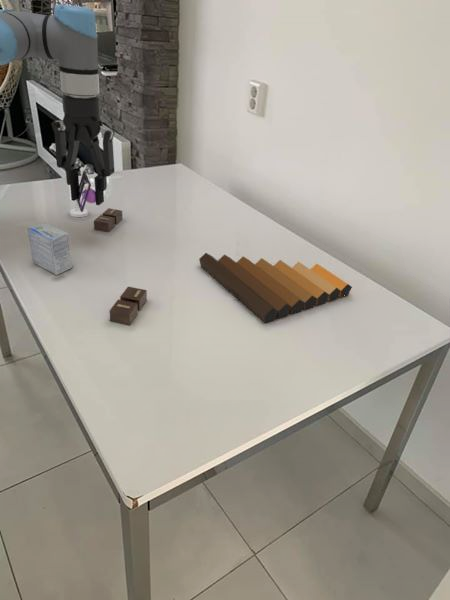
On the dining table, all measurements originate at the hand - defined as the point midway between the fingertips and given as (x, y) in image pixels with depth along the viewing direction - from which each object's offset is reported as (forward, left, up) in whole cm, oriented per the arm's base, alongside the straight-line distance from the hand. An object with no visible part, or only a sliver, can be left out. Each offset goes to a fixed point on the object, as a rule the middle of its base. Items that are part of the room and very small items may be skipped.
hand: (87, 200), depth 106 cm
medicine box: (-2, -15, -11) cm, 18 cm away
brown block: (0, +10, -10) cm, 15 cm away
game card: (0, 0, -1) cm, 1 cm away
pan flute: (+46, -3, -11) cm, 47 cm away
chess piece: (-10, +13, -11) cm, 20 cm away
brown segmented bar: (+20, -25, -10) cm, 33 cm away
